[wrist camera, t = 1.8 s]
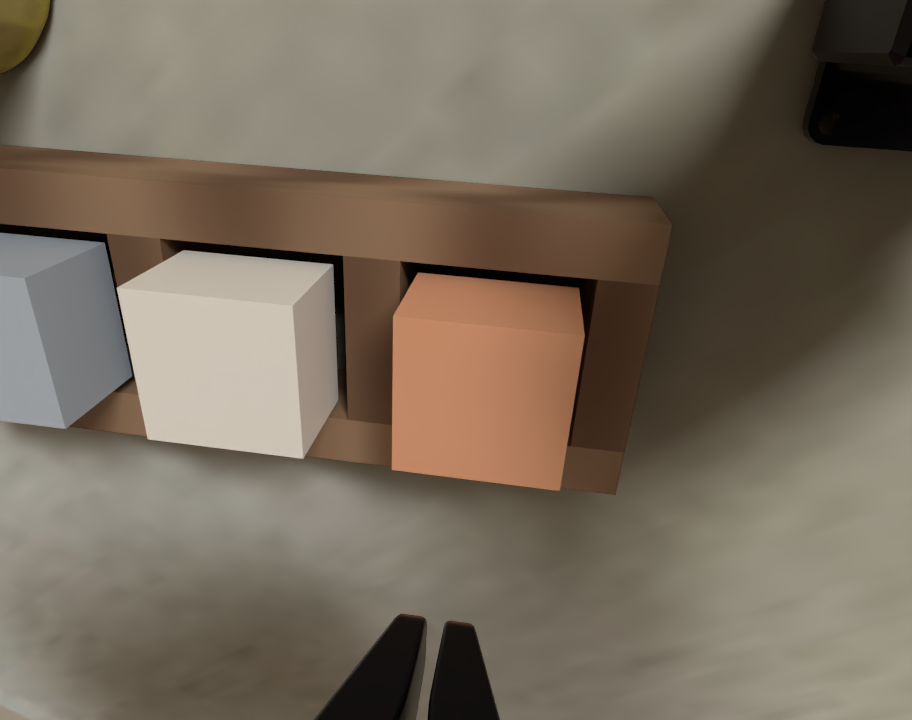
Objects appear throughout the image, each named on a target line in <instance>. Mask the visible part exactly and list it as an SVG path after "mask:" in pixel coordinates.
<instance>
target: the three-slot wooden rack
mask: <svg viewBox="0 0 912 720" xmlns="http://www.w3.org/2000/svg"><path fill="white" fill-rule="evenodd" d="M26 226H31V227H41V228H52V229H63V230H73V231H84V232H95V233H105V234H107V239H108V244H109V249H110V254H111V258H112V263H113V268H114V273H115V278H116V283H117V287H119V286H121V285H123V284H124V283H126V282H128V281H130V280H132V279H133V278H135V277H137V276H139V275H140V274H142V273H144V272H146V271H148V270H149V269H151V268H153V267H155V266H156V265H158V264H160V263H162V262H164V261H165V260H167V259H169V258H171V257H173V256H174V255H176V254H178V253H180V252H181V251H183V250H187V251H198V252H208V253H218V247H217V244H223V245H234V246H244V247H255V248H266V249H276V250H287V251H298V252H308V253H319V254H330V255H340V256H343V271H344V304H345V338H346V370H345V369H337V378H338V401H337V403H336V405H335V406H334V408H333V410H332V411H331V413H330V415H329V416H328V418H327V420H326V421H325V423H324V425H323V426H322V428H321V430H320V432H319V433H318V435H317V437H316V438H315V440H314V442H313V443H312V445H311V447H310V448H309V450H308V452H307V453H306V455H305V456H309V457H317V458H325V459H333V460H341V461H349V462H357V463H365V464H373V465H381V466H389V467H392V381H393V315H394V313H395V312H396V310H397V308H398V307H399V305H400V303H401V301H402V300H403V298H404V296H405V294H406V293H407V291H408V289H409V287H410V286H411V284H412V282H413V280H414V279H415V277H416V275H417V274H418V272H419V273H420V263H426V264H436V265H447V266H458V267H468V268H479V269H490V270H501V271H511V272H522V273H533V274H543V275H554V276H565V277H575V278H586V280H585V287H584V293H583V300H582V306H581V309H582V317H583V325H584V333H585V337H584V344H583V350H582V356H581V362H580V368H579V375H578V381H577V387H576V393H575V399H574V406H573V412H572V418H571V424H570V430H569V437H568V443H567V449H566V455H565V461H564V468H563V474H562V480H561V486H560V488H565V489H573V490H581V491H589V492H597V493H605V494H613V495H615V494H616V489H617V484H618V480H619V475H620V470H621V466H622V461H623V456H624V451H625V447H626V442H627V437H628V433H629V428H630V423H631V419H632V414H633V409H634V404H635V400H636V395H637V390H638V386H639V381H640V376H641V372H642V367H643V362H644V357H645V353H646V348H647V343H648V339H649V334H650V329H651V325H652V320H653V315H654V310H655V306H656V301H657V296H658V292H659V287H660V282H661V277H662V273H663V268H664V263H665V259H666V254H667V249H668V245H669V240H670V235H671V230H672V226H673V225H672V224H671V222H670V221H669V219H668V218H667V216H666V215H665V213H664V212H663V210H662V209H661V208H660V206H659V205H658V203H657V202H656V200H655V199H654V198H652V197H639V196H627V195H615V194H602V193H590V192H577V191H565V190H553V189H540V188H528V187H516V186H503V185H491V184H479V183H466V182H454V181H442V180H429V179H417V178H404V177H392V176H380V175H367V174H355V173H343V172H330V171H318V170H306V169H293V168H281V167H269V166H256V165H244V164H232V163H219V162H207V161H194V160H182V159H170V158H157V157H145V156H133V155H120V154H108V153H96V152H83V151H71V150H59V149H46V148H34V147H22V146H9V145H0V233H8V234H19V235H28V232H27V228H26ZM126 348H127V353H128V357H129V362H130V367H131V372H132V377H130V378H129V379H128V380H127V381H125V382H124V383H123V384H122V385H120V386H119V387H118V388H117V389H115V390H114V391H113V392H112V393H110V394H109V395H108V396H107V397H105V398H104V399H103V400H102V401H100V402H99V403H98V404H96V405H95V406H94V407H93V408H91V409H90V410H89V411H88V412H86V413H85V414H84V415H83V416H81V417H80V418H79V419H78V420H76V421H75V422H74V423H73V424H71V425H70V426H69V427H77V428H85V429H93V430H101V431H109V432H117V433H125V434H133V435H141V436H147V433H146V429H145V424H144V419H143V414H142V409H141V404H140V399H139V394H138V389H137V385H136V380H135V375H134V370H133V365H132V360H131V355H130V350H129V346H128V345H126Z"/></svg>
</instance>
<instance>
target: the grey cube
mask: <svg viewBox="0 0 912 720" xmlns="http://www.w3.org/2000/svg"><path fill="white" fill-rule="evenodd" d="M130 377H132V372H131V367H130V362H129V357H128V353H127V348H126V343H125V338H124V333H123V328H122V323H121V319H120V314H119V309H118V304H117V299H116V294H115V290H114V285H113V280H112V275H111V270H110V265H109V261H108V256H107V251H106V246H105V243H103V242H93V241H82V240H72V239H61V238H51V237H40V236H30V235H19V234H8V233H0V421H6V422H14V423H22V424H30V425H38V426H46V427H54V428H62V429H66V428H68V427H69V426H70V425H71V424H73V423H74V422H75V421H76V420H78V419H79V418H80V417H81V416H83V415H84V414H85V413H86V412H88V411H89V410H90V409H91V408H93V407H94V406H95V405H96V404H98V403H99V402H100V401H102V400H103V399H104V398H105V397H107V396H108V395H109V394H110V393H112V392H113V391H114V390H115V389H117V388H118V387H119V386H120V385H122V384H123V383H124V382H125V381H127V380H128V379H129V378H130Z"/></svg>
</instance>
